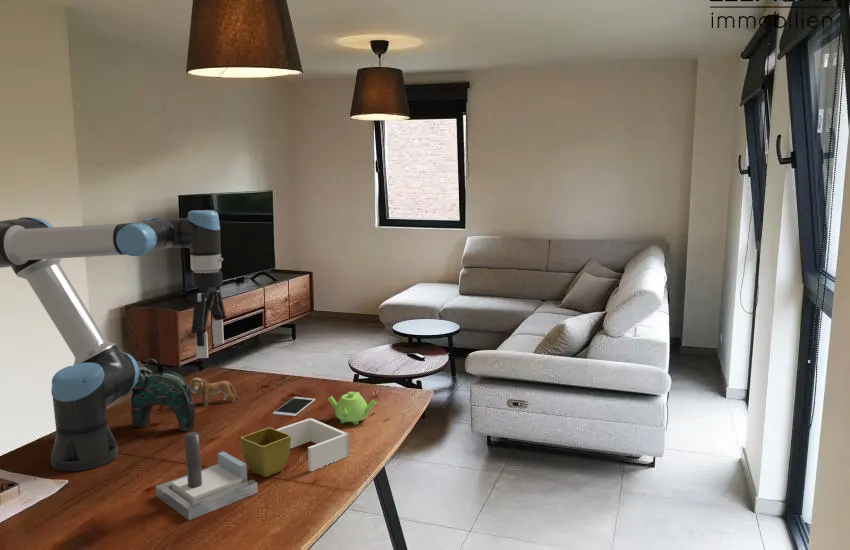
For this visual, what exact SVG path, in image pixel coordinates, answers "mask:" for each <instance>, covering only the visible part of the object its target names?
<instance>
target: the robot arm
mask: <svg viewBox="0 0 850 550" xmlns="http://www.w3.org/2000/svg"><path fill="white" fill-rule="evenodd" d="M168 248H170V249H171V248H186V249H187V248H189V253H190V269H191V271H192V272H191V273H190V274H191V275H190V276H191V285H192V287H194V288H198V289H199V290H198V293H194V295H193V296H194V300H193V301H194V306H193V315H192V325H191V330H190V331H191V332H190V333H191V334H195V349H196V353H195V354H196V359H207V358H208V359H209V346H208V344H209V343H208V342H209V341H208V332H207V331H206V330H207V326H208V321H209V313H210V314H211V317H212V320H211V328H212V344H213V345H218V344H221V345H222V344H223V345H224V344H225V339H224V320H227V315H226V310H225V307H224V303H223V302H224V301H223V297H222V293H221V292H222V291H221V286H222V285H223V272H222V270H221V269H222V262H223V261H224V258H223V257H222V251H221V226H220V219H219V213H218V212H217V211H216V210H212V209H210V210H209V209H204V210H200V209H199V210H197V209H196V210H189V211H188V212H187V217H183V218H174V217H173V218H172V217H171V218H170V217H158V216H157V217H151V218H145V219H144V220H143V221H142V222H140V221H139V222H128V223H112V224H91V225H74V226H71V225H70V226H55V227H54V226H53V225H52V224H51V223H50V222H48V221H47V220H45V219H42V218H39V217H29V216H27V217H26V216H25V217H24V216H23V217H18V218H15V219H14V218H13V219H6V220H0V268H1V269H3V268H9V267H11V269H12V270H13V272H14V274H15V275H16V277H18V278H21V279H25V280H26V281H27V282H28V284H29V286H30V287H31V289H32V290H33V292H34V294H35V296H36V297H37V298H38V300H39V302H40V304H41V305H42V306H43V308H44V310H45V312H47V315H48V316H49V319H51V321H52V323H53V324H54V326H55V327H56V329H57V331H58V332H59V335H60V336H61V337H62V339H63V340H64V342H65V343H66V345H67V347H68V348H69V351H70V352H71V353H72V355H73V356H74V363H73V365H68V366H65V367H63V368H61V369H60V370H58V371H57V372H55V374H54V375H53V376H52V379H51V392H50V393H51V396H52V404H53V405H52V406H53V412H54V413H53V414H54V422H55V431H56V435H55V440H54V443H53V446H52V449H51V455H50V461H51V462H50V463H51V467H52V469H54V470H57V471H61V472H80V471H86V470H88V471H89V470H92V469H95V468H98V467H102V466H104V465H106V464H109V463H110V462H111V461H113V460H115V459H116V458H117V456H118V455H119V447H118V446H119V445H118V443H117V441H116V439H115V436H114V435H113V432H112V430H111V428H110V426H109V421H108V407H109V406H110V405H112V404H113V403H115V402H116V401H118V400H120V399H122V398H124V397H126V396H127V395H128V394H129V393H130V392H132V391H131V390H132V389H133V388H134V387H135V385H136V384H137V382H138V378H139V367H140V366H139V365H138V362H137V360H136V359H135V358H134V357H133V356H132V355H131V354H130V353H126V352H125V351H120V350H121V349H119V347H118V346H117V344H116V343H115V342H111V341H108V340H106V337H105V336H104V334H103V333H102V331H101V329H100V328H99V326H98V324H97V323H96V321H95V320H94V317H93V316H92V315H91V314H90V312H89V310H88V308H87V306H86V305H85V303H84V301H83V300H82V299H81V296H80V295H79V294H78V292H77V291H76V289H75V287H74V286H73V284H72V283H71V282H72V281H70V279H69V278H68V276H67V273H65V271H64V269H63V268H62V266H61V263H60V262H61V260H62V259H71V258H91V257H108V256H109V257H110V256H122V255H123V256H126V255H127V256H130V257H140V256H141V257H142V256H147V255H148V254H150V253H154V252H157V251H161V250H164V249H168Z"/></svg>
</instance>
